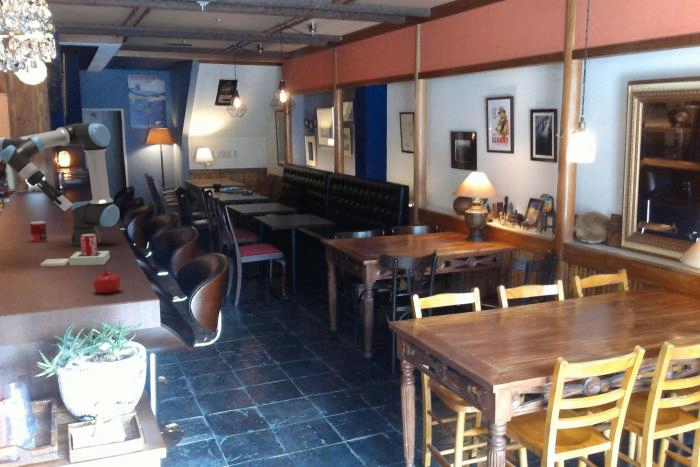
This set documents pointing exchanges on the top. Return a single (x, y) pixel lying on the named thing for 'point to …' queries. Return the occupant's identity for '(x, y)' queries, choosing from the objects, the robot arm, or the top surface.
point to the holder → (89, 259)
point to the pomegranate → (107, 282)
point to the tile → (54, 262)
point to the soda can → (89, 245)
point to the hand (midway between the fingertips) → (68, 207)
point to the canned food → (38, 231)
